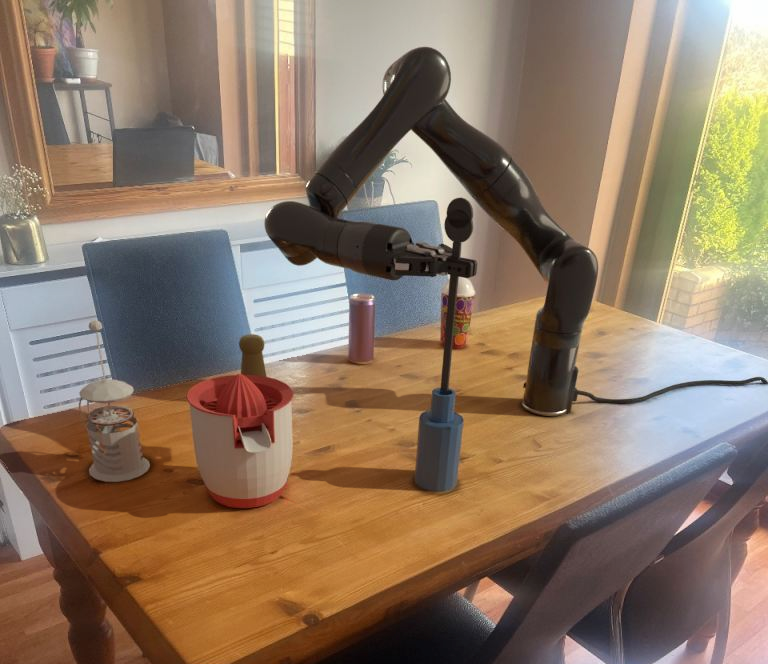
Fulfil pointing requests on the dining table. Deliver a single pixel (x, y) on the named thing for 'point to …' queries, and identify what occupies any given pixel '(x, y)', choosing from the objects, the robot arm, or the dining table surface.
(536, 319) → the robot arm
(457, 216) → the spoon
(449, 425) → the bottle
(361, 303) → the beverage can
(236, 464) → the citrus juicer
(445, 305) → the smoothie
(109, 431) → the french press
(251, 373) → the cork
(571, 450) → the dining table surface
